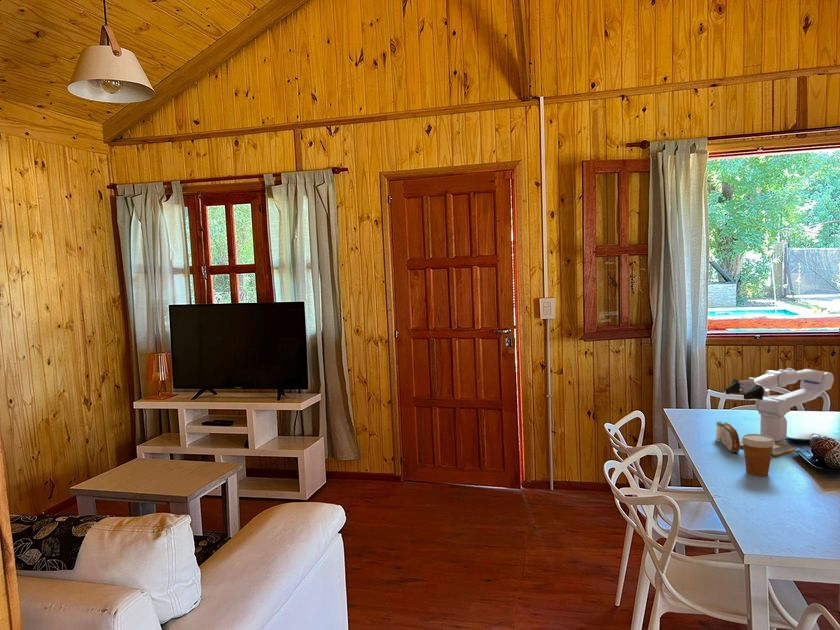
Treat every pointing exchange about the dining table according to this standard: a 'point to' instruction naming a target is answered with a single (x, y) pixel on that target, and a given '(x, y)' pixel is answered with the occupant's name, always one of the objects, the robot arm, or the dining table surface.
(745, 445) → the disposable coffee cup
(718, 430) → the beige cylinder
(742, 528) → the dining table surface
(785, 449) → the slate board
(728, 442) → the tin
